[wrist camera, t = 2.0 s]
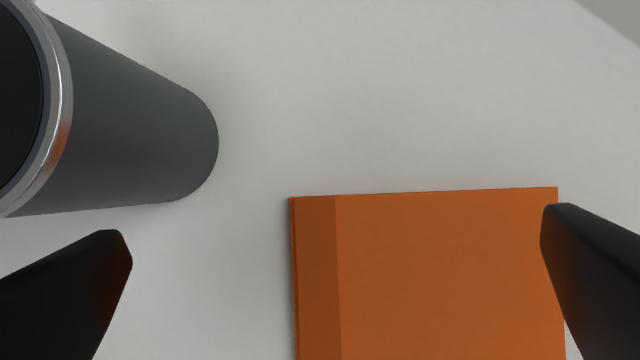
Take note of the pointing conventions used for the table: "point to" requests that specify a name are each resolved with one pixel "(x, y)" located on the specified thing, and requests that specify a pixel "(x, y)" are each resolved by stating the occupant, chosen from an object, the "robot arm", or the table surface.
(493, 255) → the rag
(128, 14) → the table surface
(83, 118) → the gray travel mug
